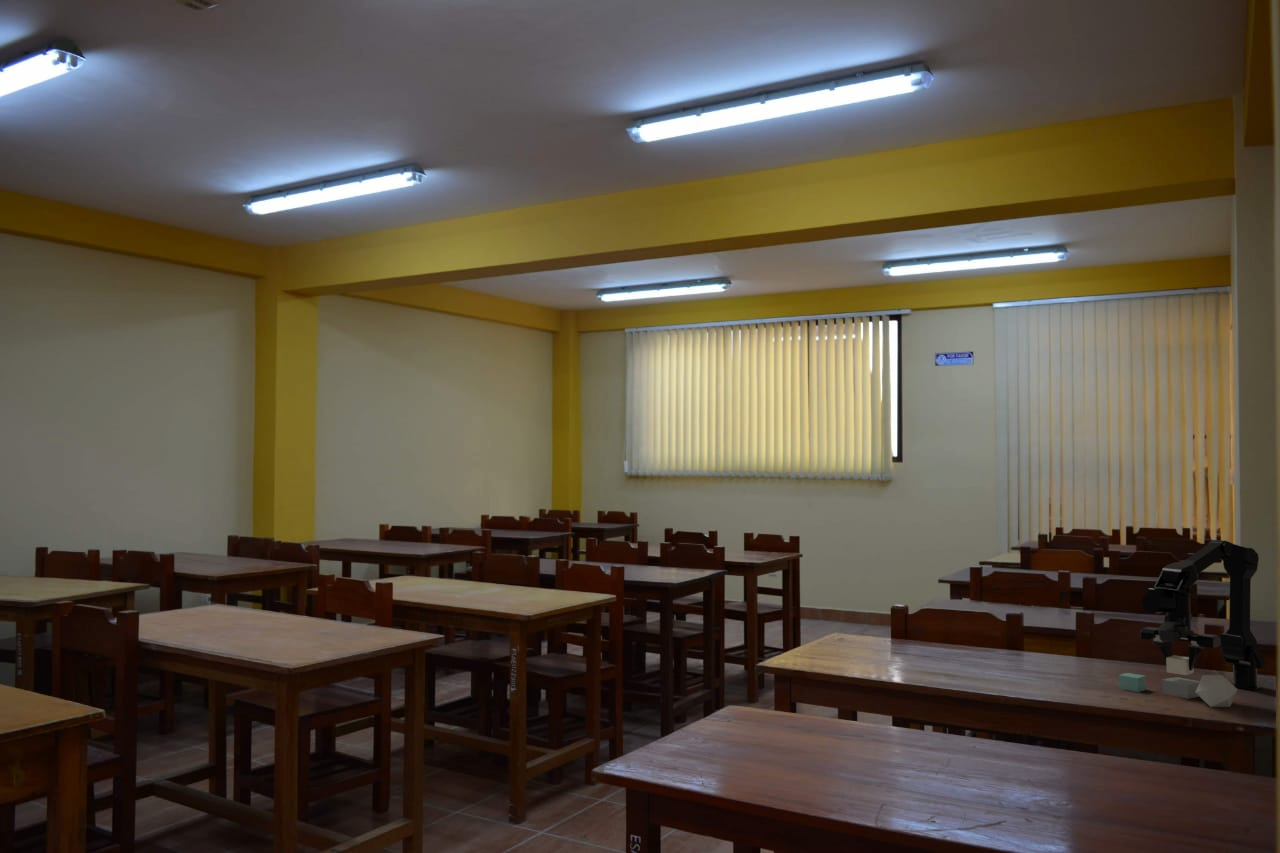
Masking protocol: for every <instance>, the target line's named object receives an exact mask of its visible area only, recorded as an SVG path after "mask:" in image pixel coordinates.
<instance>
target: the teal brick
mask: <svg viewBox="0 0 1280 853" xmlns="http://www.w3.org/2000/svg"><path fill="white" fill-rule="evenodd" d="M1118 679H1119V680H1118V682H1119V684H1118V686H1119V690H1121V691H1122V690H1124V691H1128V692H1134V693H1139V692H1143V691H1146V688H1147V687H1146V684H1147V683H1146V682H1147V681H1146V675H1143V674H1138V673H1137V674H1136V673H1132V672H1131V673H1130V672H1125V673H1122V674H1119V675H1118Z"/></svg>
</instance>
